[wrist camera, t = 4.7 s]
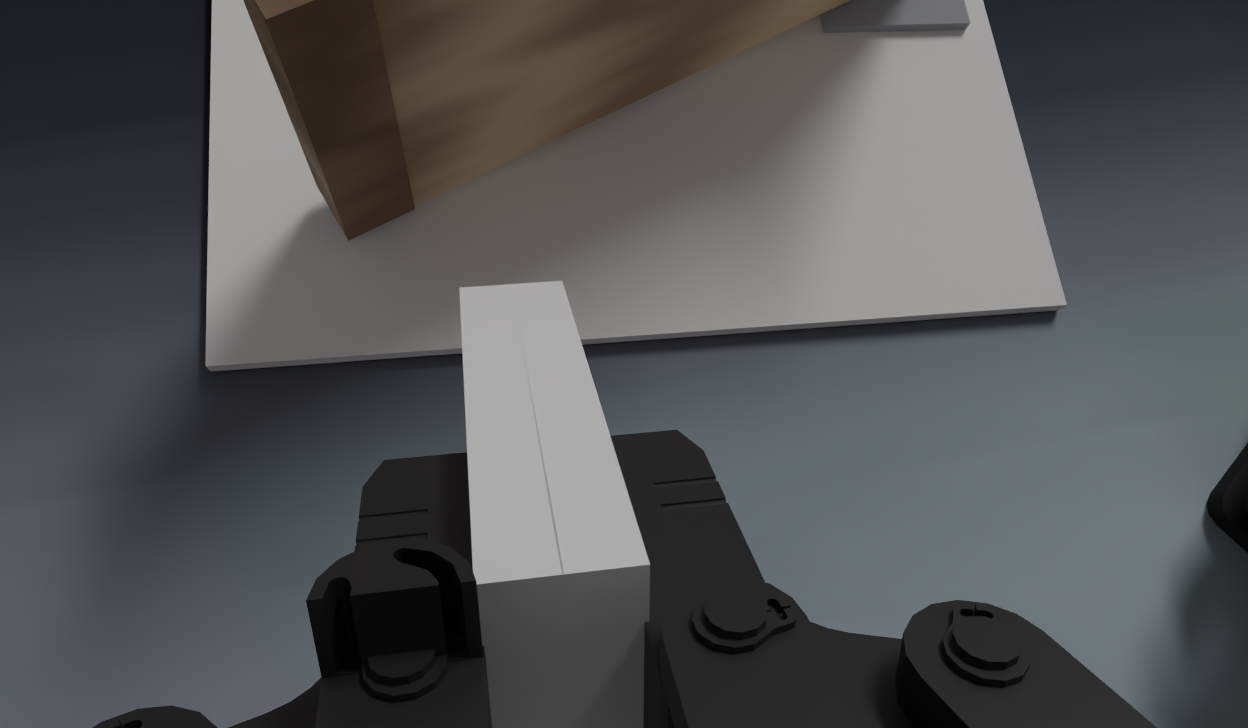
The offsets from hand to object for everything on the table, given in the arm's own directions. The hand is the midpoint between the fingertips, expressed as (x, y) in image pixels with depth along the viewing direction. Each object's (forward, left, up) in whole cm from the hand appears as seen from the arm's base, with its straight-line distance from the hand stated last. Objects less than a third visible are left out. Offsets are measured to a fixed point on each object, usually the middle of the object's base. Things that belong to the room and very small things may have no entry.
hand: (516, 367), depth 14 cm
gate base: (-4, -14, -9) cm, 17 cm away
